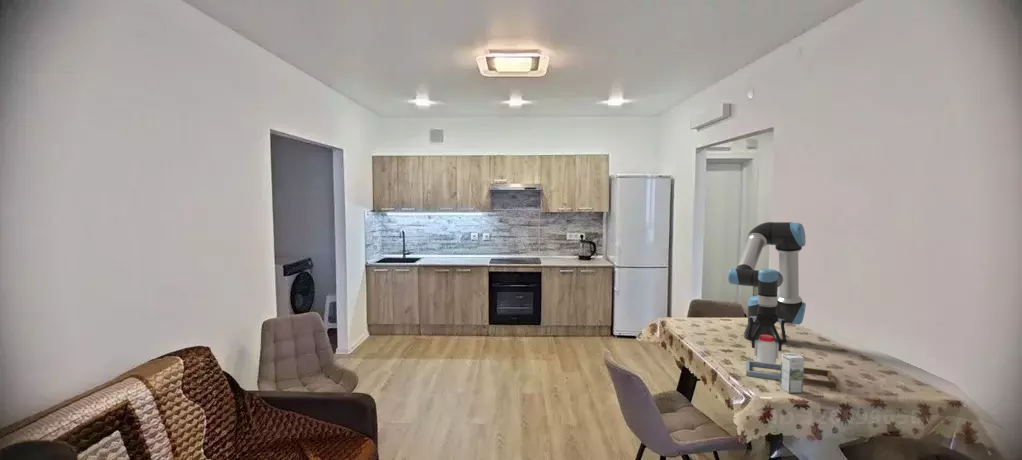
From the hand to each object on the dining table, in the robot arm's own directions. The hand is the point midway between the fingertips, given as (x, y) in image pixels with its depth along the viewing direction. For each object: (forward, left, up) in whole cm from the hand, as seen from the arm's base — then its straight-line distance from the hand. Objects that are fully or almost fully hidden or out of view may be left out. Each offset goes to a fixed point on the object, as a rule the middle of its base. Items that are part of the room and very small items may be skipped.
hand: (766, 356), depth 211 cm
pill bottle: (0, 0, -2) cm, 2 cm away
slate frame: (0, 0, -7) cm, 7 cm away
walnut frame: (0, +17, -7) cm, 18 cm away
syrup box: (+18, +9, -7) cm, 21 cm away
